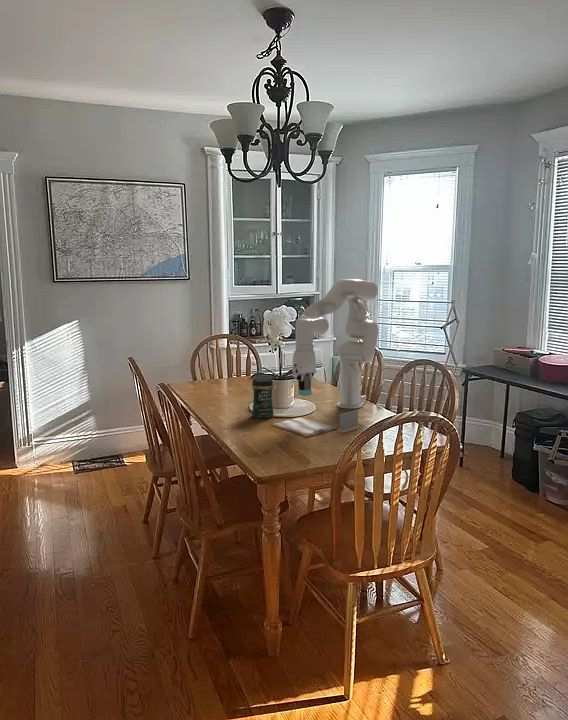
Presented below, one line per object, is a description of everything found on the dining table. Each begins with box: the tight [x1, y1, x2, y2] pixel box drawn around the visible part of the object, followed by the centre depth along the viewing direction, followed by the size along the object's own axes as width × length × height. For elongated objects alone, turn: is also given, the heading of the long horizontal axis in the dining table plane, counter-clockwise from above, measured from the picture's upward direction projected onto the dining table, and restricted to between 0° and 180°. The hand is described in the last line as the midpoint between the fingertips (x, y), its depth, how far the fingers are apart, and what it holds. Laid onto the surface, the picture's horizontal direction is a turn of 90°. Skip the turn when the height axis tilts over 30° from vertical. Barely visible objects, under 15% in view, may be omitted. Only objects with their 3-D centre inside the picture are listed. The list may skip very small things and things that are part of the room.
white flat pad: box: [271, 416, 338, 439], centre depth 250 cm, size 17×23×2 cm
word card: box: [337, 409, 361, 434], centre depth 245 cm, size 10×3×8 cm, turn 129°
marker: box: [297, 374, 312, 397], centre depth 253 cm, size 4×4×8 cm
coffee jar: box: [251, 376, 274, 419], centre depth 265 cm, size 10×8×19 cm
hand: (304, 388), depth 254 cm, fingers closed on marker, 3 cm apart
